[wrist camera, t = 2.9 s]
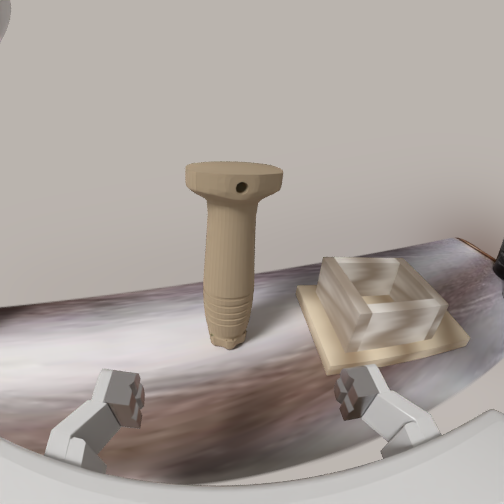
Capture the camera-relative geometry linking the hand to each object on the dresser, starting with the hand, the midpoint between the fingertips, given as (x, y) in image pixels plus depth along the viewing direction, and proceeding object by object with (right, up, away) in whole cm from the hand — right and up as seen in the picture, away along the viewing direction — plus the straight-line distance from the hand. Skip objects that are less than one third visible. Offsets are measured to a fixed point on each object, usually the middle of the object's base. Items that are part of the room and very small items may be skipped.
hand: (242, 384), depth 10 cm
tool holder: (+15, -3, +18) cm, 23 cm away
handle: (-2, -3, +15) cm, 15 cm away
